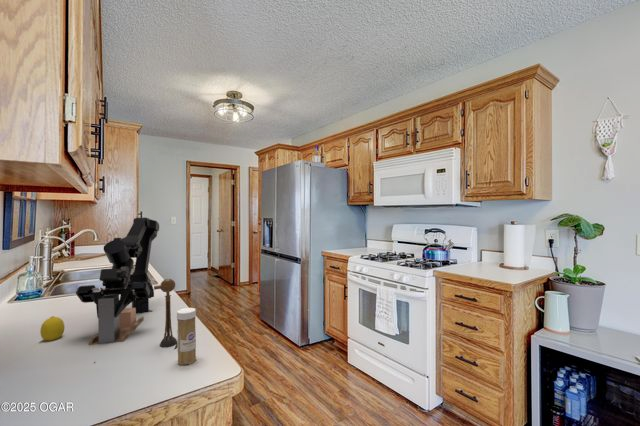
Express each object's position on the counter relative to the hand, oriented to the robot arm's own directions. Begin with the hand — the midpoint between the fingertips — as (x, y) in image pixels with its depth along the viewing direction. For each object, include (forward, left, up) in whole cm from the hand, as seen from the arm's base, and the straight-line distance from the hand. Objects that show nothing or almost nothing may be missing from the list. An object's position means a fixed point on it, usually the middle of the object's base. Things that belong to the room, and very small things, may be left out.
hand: (107, 317), depth 89 cm
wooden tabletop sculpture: (+16, +9, -9) cm, 21 cm away
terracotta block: (-11, +9, -7) cm, 16 cm away
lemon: (-18, -8, -9) cm, 21 cm away
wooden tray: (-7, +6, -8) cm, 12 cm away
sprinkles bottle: (+28, +8, -9) cm, 31 cm away
